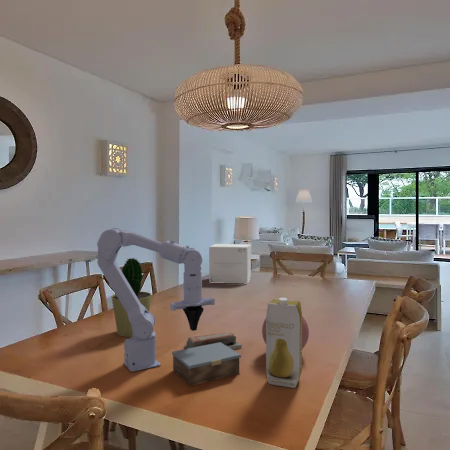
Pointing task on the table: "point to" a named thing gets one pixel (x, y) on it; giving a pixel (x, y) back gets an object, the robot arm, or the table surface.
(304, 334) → the balloon
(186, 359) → the lid
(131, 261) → the potted cactus
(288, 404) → the table surface
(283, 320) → the juice carton
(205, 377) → the box
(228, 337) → the packaged product
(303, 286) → the table surface
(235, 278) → the cube
